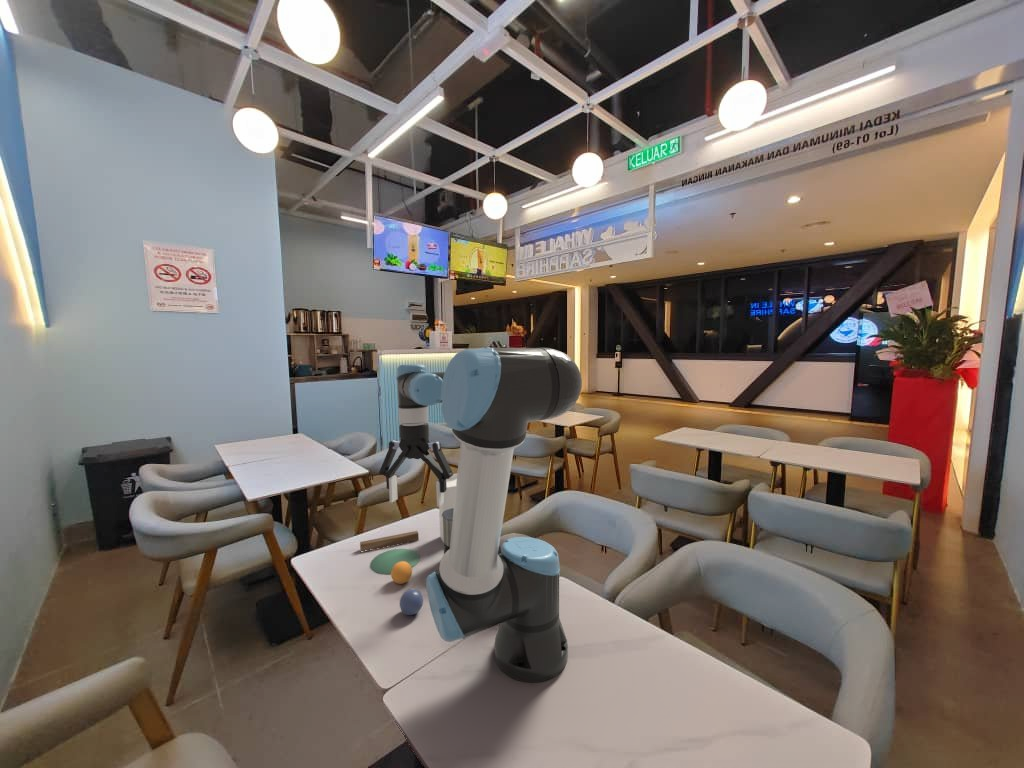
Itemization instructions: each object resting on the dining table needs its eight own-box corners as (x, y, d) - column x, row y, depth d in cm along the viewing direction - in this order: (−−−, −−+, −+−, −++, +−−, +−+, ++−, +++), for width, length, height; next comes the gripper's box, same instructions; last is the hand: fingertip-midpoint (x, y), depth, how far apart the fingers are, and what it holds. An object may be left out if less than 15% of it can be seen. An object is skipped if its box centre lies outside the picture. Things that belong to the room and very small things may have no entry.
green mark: (423, 566, 115) (423, 566, 115) (373, 578, 109) (372, 578, 109) (414, 545, 127) (414, 545, 127) (368, 555, 121) (368, 554, 121)
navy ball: (425, 616, 93) (425, 594, 93) (401, 623, 91) (401, 600, 90) (420, 603, 98) (420, 581, 98) (398, 609, 96) (397, 587, 95)
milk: (461, 540, 130) (461, 476, 128) (443, 544, 128) (442, 478, 126) (456, 533, 136) (455, 470, 134) (439, 536, 134) (438, 473, 132)
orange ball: (414, 584, 106) (413, 565, 105) (393, 590, 104) (392, 570, 103) (410, 574, 111) (409, 555, 110) (390, 579, 109) (389, 560, 108)
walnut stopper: (418, 540, 131) (418, 533, 131) (360, 552, 123) (360, 544, 123) (417, 537, 133) (417, 530, 132) (360, 549, 125) (360, 542, 125)
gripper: (463, 421, 104) (465, 500, 105) (379, 420, 110) (382, 494, 111) (452, 426, 97) (455, 511, 98) (363, 424, 103) (366, 504, 104)
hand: (416, 502), depth 105 cm, fingers open, 13 cm apart
